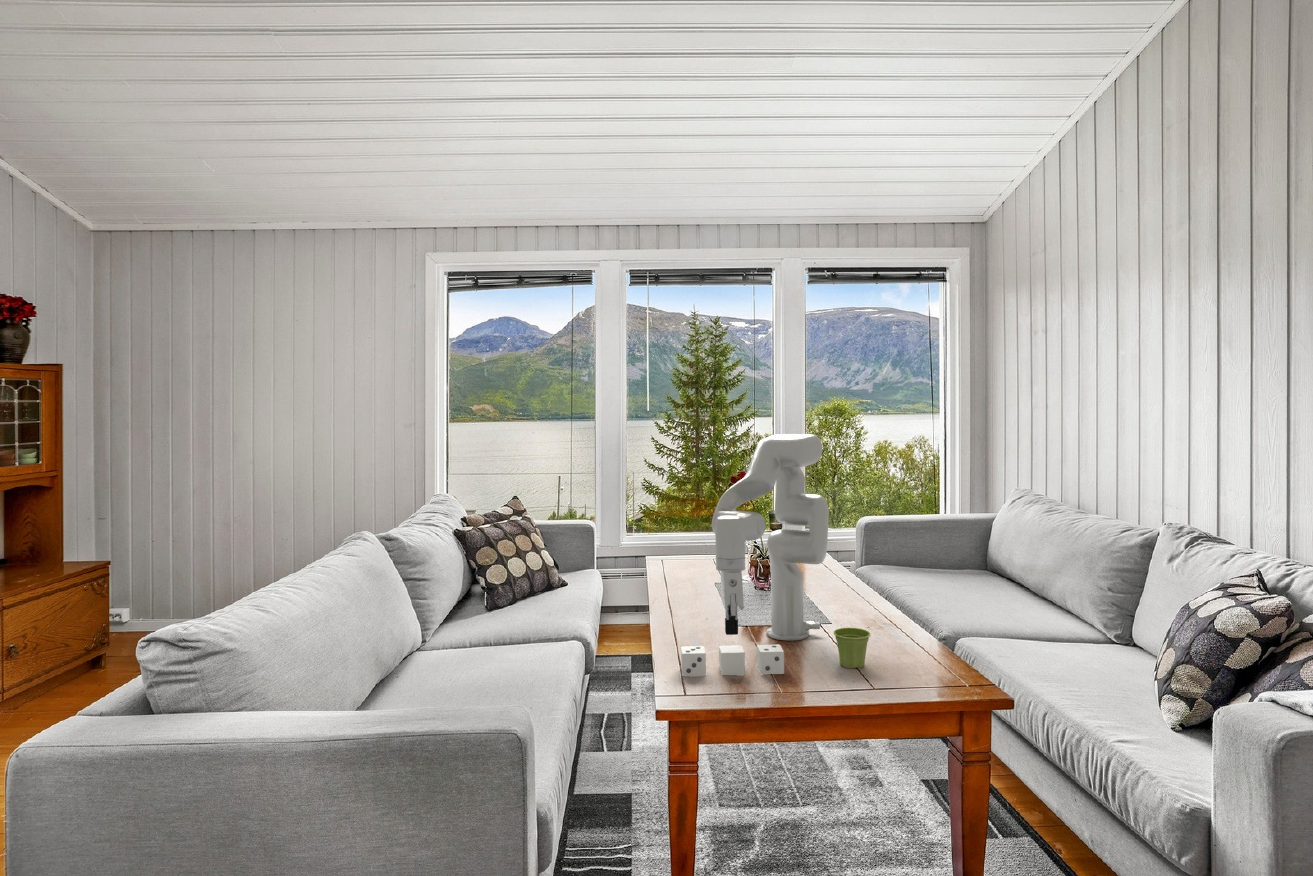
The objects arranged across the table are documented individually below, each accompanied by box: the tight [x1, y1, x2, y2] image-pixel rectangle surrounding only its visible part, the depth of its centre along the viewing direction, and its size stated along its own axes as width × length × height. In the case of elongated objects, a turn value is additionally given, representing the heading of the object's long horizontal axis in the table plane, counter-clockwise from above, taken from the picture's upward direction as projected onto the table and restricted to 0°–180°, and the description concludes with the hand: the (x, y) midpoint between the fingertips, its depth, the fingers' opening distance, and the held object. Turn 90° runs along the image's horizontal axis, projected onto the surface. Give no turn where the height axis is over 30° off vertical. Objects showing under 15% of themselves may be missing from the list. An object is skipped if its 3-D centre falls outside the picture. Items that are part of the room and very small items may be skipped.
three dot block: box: [680, 645, 707, 677], centre depth 201 cm, size 6×6×6 cm
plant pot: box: [833, 627, 871, 669], centre depth 205 cm, size 9×9×9 cm
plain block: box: [718, 644, 746, 676], centre depth 202 cm, size 6×6×6 cm
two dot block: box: [756, 643, 785, 675], centre depth 202 cm, size 6×6×6 cm
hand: (731, 633), depth 201 cm, fingers closed
